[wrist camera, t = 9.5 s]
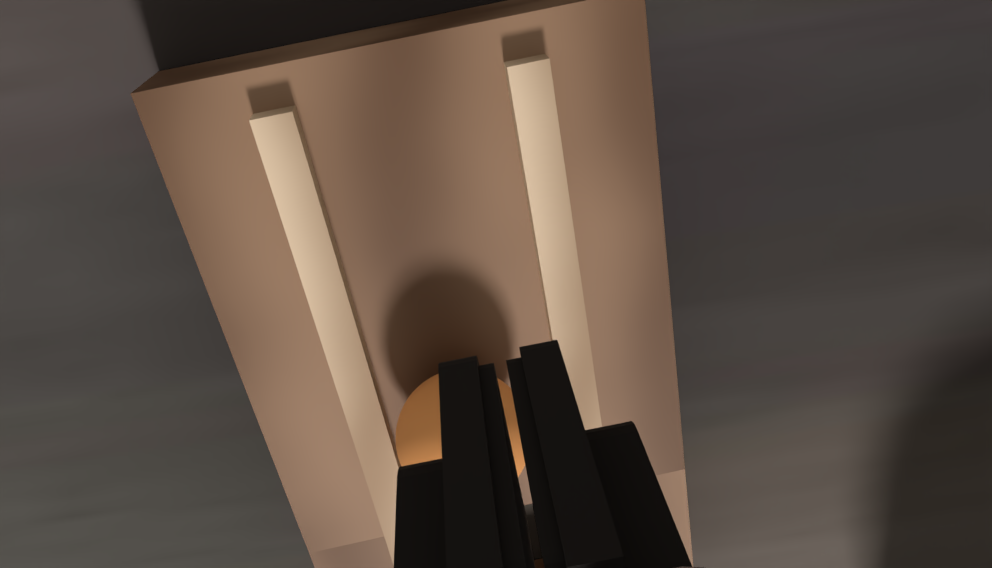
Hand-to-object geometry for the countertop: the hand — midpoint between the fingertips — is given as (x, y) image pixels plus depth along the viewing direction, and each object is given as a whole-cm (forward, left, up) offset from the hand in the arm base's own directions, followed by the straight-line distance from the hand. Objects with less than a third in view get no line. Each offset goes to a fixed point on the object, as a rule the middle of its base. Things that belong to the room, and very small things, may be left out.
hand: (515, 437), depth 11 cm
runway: (+1, +8, -13) cm, 15 cm away
